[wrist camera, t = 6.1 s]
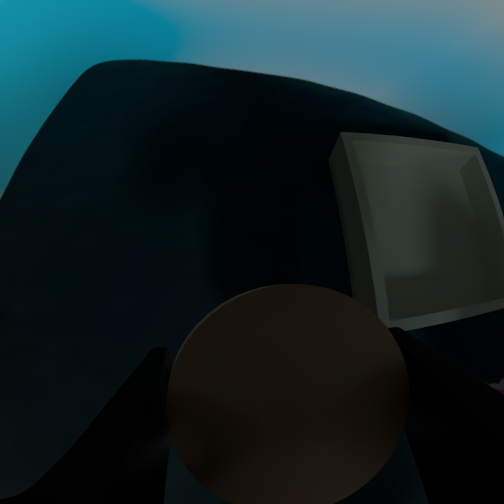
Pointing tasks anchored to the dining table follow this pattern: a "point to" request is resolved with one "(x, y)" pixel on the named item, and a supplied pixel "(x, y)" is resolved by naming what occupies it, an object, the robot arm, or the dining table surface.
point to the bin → (418, 228)
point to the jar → (287, 397)
